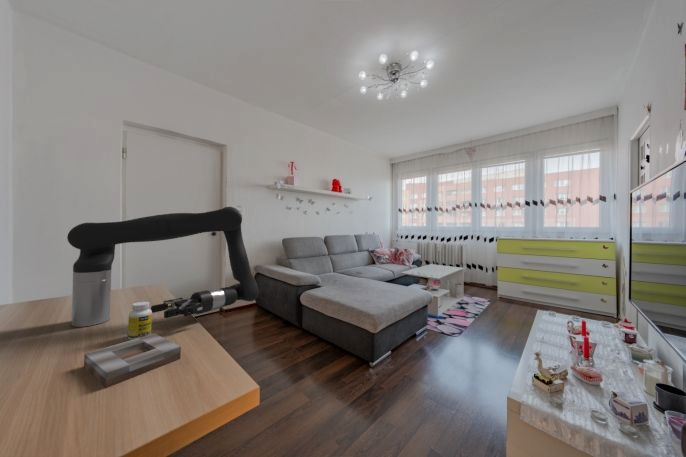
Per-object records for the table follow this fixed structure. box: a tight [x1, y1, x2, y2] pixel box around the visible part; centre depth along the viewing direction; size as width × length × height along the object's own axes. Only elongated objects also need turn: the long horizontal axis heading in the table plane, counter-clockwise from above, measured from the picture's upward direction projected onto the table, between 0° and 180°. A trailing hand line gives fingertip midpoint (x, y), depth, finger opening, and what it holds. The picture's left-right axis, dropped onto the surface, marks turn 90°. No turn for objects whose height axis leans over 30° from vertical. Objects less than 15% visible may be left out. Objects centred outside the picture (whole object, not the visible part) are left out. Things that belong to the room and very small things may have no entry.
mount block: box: [83, 333, 182, 388], centre depth 61 cm, size 14×14×3 cm
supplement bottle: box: [127, 301, 153, 341], centre depth 76 cm, size 5×5×10 cm
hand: (157, 312), depth 79 cm, fingers open, 8 cm apart
